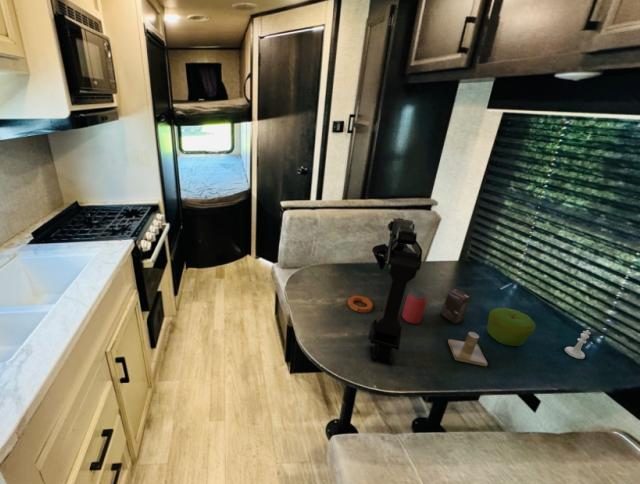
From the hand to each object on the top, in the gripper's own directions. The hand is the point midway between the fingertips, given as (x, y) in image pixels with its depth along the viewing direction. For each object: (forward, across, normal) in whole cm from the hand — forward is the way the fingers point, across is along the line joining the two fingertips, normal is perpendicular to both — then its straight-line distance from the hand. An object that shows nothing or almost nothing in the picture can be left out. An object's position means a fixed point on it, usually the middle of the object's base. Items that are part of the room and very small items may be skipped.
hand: (388, 276), depth 127 cm
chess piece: (+12, -42, -44) cm, 62 cm away
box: (+13, -18, -18) cm, 28 cm away
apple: (+12, -31, -27) cm, 43 cm away
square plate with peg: (+8, -33, -9) cm, 35 cm away
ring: (+11, -2, +12) cm, 17 cm away
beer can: (+11, -14, -3) cm, 18 cm away
